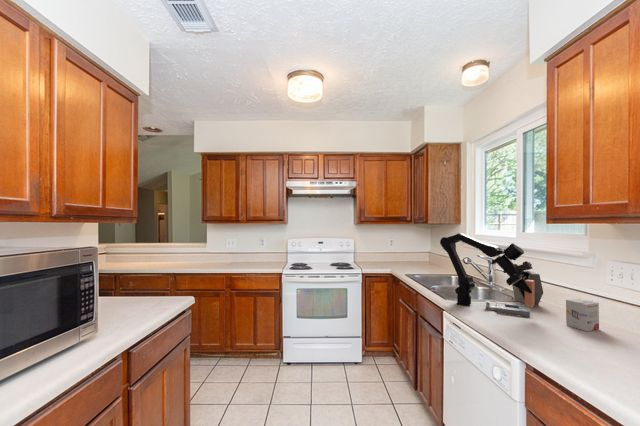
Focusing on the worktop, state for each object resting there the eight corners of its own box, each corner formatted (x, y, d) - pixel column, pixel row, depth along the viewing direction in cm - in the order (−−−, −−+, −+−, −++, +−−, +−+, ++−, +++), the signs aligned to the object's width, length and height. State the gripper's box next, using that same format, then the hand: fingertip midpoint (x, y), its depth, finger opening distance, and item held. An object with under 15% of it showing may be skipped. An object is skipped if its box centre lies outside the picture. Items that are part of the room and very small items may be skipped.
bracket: (485, 309, 164) (485, 301, 164) (485, 308, 166) (485, 300, 166) (496, 310, 162) (496, 303, 162) (496, 309, 164) (496, 302, 164)
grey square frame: (496, 312, 159) (496, 307, 159) (495, 306, 171) (495, 301, 171) (529, 317, 152) (529, 312, 152) (526, 309, 165) (526, 305, 165)
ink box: (578, 323, 144) (578, 297, 144) (599, 329, 136) (599, 302, 136) (565, 325, 142) (565, 299, 142) (586, 331, 134) (586, 304, 134)
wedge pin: (524, 305, 150) (524, 280, 150) (527, 303, 152) (527, 279, 152) (531, 306, 147) (532, 281, 148) (534, 305, 150) (534, 280, 150)
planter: (509, 288, 192) (518, 263, 181) (523, 289, 191) (532, 264, 180) (520, 310, 178) (531, 284, 167) (535, 311, 177) (546, 285, 166)
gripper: (513, 257, 147) (541, 285, 139) (526, 254, 159) (552, 279, 151) (495, 271, 153) (521, 299, 144) (509, 267, 165) (533, 292, 157)
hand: (532, 292), depth 149 cm, fingers closed on wedge pin, 4 cm apart
